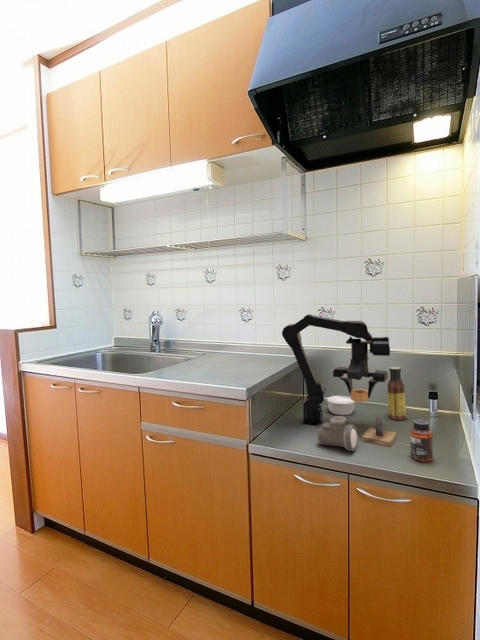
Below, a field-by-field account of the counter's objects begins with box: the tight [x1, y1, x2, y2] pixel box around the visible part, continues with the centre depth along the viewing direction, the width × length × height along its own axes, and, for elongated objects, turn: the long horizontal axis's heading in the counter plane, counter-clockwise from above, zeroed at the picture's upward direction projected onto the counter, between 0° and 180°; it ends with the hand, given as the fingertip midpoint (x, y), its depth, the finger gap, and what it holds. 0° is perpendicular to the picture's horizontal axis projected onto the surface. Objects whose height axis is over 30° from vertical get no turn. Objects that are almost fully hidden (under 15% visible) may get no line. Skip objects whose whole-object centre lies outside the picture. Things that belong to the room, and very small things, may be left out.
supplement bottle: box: [410, 418, 434, 463], centre depth 108 cm, size 6×6×11 cm
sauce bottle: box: [387, 366, 407, 421], centre depth 141 cm, size 7×6×20 cm
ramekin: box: [326, 395, 356, 416], centre depth 151 cm, size 11×11×5 cm
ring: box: [350, 388, 371, 403], centre depth 135 cm, size 6×6×3 cm
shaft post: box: [361, 414, 397, 448], centre depth 123 cm, size 9×9×8 cm
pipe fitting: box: [317, 415, 359, 452], centre depth 118 cm, size 12×8×10 cm, turn 55°
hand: (360, 396), depth 135 cm, fingers closed on ring, 6 cm apart
